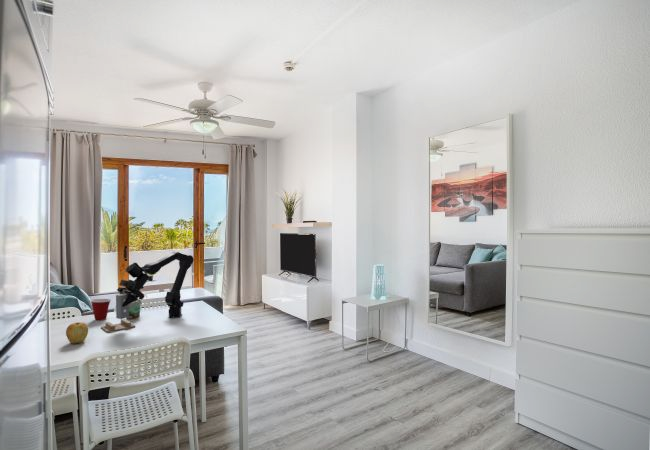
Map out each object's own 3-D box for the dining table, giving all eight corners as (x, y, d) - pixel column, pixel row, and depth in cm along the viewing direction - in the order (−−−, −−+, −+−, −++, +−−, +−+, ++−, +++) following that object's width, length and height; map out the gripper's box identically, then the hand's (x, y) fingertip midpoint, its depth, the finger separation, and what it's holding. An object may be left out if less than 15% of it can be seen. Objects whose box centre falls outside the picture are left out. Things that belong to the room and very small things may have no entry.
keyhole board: (127, 323, 216) (127, 318, 216) (135, 327, 208) (135, 321, 208) (100, 328, 206) (100, 322, 206) (107, 332, 198) (107, 327, 198)
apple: (84, 338, 189) (84, 318, 189) (91, 342, 183) (90, 321, 183) (63, 343, 182) (63, 322, 182) (69, 347, 176) (69, 326, 176)
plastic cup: (114, 318, 226) (114, 299, 226) (95, 322, 217) (95, 302, 217) (106, 316, 232) (106, 296, 232) (87, 319, 224) (87, 299, 224)
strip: (124, 316, 206) (124, 292, 206) (129, 317, 204) (128, 293, 203) (116, 317, 202) (115, 294, 202) (120, 319, 200) (120, 295, 199)
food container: (135, 320, 223) (135, 303, 223) (125, 320, 223) (124, 303, 223) (145, 314, 235) (145, 299, 235) (136, 314, 235) (135, 299, 235)
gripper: (120, 272, 211) (99, 295, 202) (138, 275, 201) (118, 299, 192) (133, 284, 218) (114, 307, 209) (152, 287, 208) (133, 311, 198)
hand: (120, 306), depth 202 cm, fingers closed on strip, 4 cm apart
